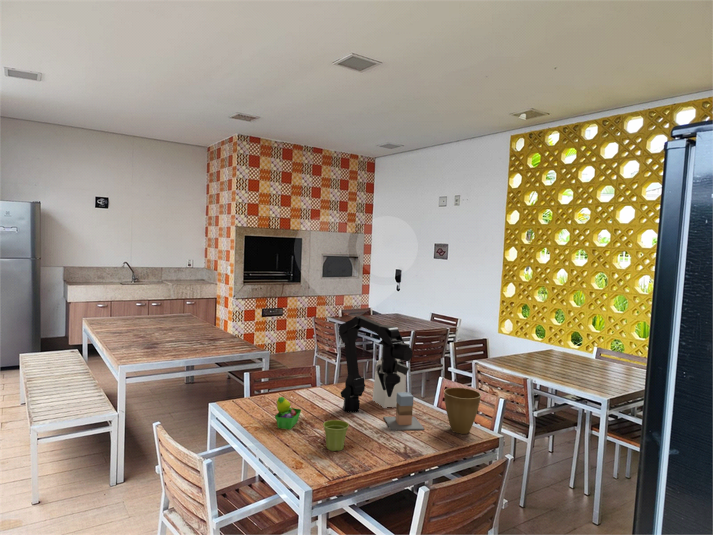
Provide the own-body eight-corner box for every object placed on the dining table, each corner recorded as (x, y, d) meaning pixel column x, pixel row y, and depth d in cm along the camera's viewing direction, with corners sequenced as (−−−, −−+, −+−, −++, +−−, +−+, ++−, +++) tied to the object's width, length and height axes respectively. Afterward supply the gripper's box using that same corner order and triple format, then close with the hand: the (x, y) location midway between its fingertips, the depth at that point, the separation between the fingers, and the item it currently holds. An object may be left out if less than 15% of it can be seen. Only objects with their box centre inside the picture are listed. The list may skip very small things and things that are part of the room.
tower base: (391, 430, 192) (391, 419, 192) (383, 418, 206) (384, 407, 206) (424, 430, 195) (425, 419, 194) (414, 417, 208) (415, 407, 208)
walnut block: (412, 415, 198) (412, 405, 198) (399, 415, 197) (400, 405, 197) (408, 410, 203) (409, 401, 203) (396, 410, 202) (396, 401, 202)
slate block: (413, 405, 198) (413, 396, 198) (400, 406, 197) (401, 396, 197) (408, 401, 203) (409, 392, 203) (396, 401, 202) (396, 392, 202)
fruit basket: (292, 431, 186) (293, 403, 185) (270, 428, 188) (272, 400, 187) (301, 421, 197) (302, 394, 197) (281, 418, 199) (282, 392, 198)
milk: (372, 400, 230) (375, 347, 229) (393, 398, 235) (396, 346, 234) (384, 408, 219) (387, 352, 218) (405, 406, 224) (408, 351, 223)
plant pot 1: (316, 449, 170) (318, 425, 170) (330, 440, 179) (331, 417, 178) (339, 455, 166) (340, 431, 166) (352, 446, 174) (353, 423, 174)
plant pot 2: (448, 421, 206) (451, 385, 206) (482, 429, 199) (485, 392, 198) (436, 431, 194) (438, 393, 193) (472, 440, 186) (474, 400, 185)
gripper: (413, 362, 190) (411, 400, 191) (401, 352, 208) (399, 387, 209) (386, 361, 188) (384, 400, 189) (377, 351, 207) (375, 386, 207)
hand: (386, 393), depth 199 cm, fingers open, 9 cm apart
